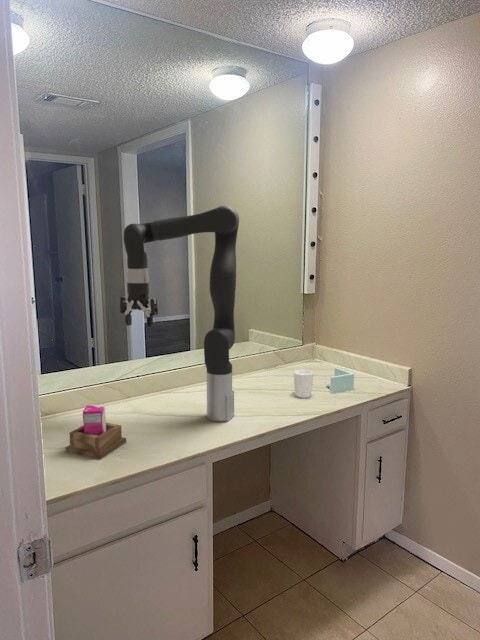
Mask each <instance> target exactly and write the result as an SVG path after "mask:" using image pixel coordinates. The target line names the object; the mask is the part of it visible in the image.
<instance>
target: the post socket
mask: <svg viewBox="0 0 480 640" xmlns="http://www.w3.org/2000/svg"><path fill="white" fill-rule="evenodd" d="M122 433H123V432H122V425H121V424H116V423H111V422H106V432H104V433H102V434H101V435H99V436H97V435H91V434H86V433H84V424H83V425H81V426H79V427H78V428H76V429H74V430H72V431H70V432H69V445H67V446H65V447H64V448H65V449H64V451H65V453H68V454H73V455H78V456H83V457H88V458H93V459H96V460H102V459H104V458H105V457H107V456H108V455H110V454H112V453H113V452H114V451H116V450H117V449H119V448H120V447H121V446H123V445H125V444H126V443H127V437H123V435H122Z"/></svg>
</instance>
